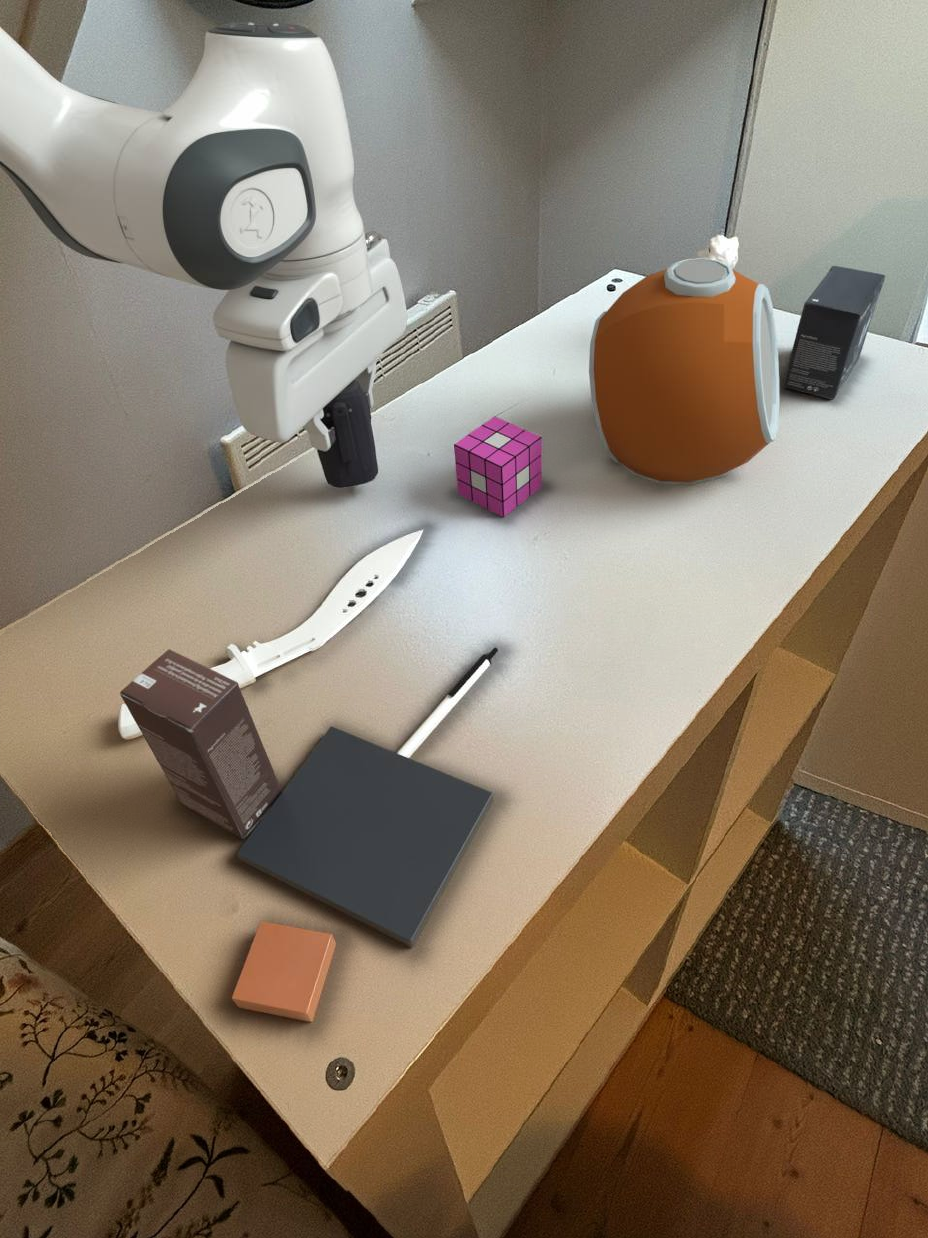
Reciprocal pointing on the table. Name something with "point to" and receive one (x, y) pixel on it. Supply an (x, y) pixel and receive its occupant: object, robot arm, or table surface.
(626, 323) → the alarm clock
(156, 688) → the box
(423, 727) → the pen
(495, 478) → the puzzle toy
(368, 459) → the two-way radio
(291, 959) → the orange square block
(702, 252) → the white creature statuette
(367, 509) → the table surface
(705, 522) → the table surface
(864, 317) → the box
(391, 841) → the slate tile
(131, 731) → the knife
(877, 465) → the table surface
